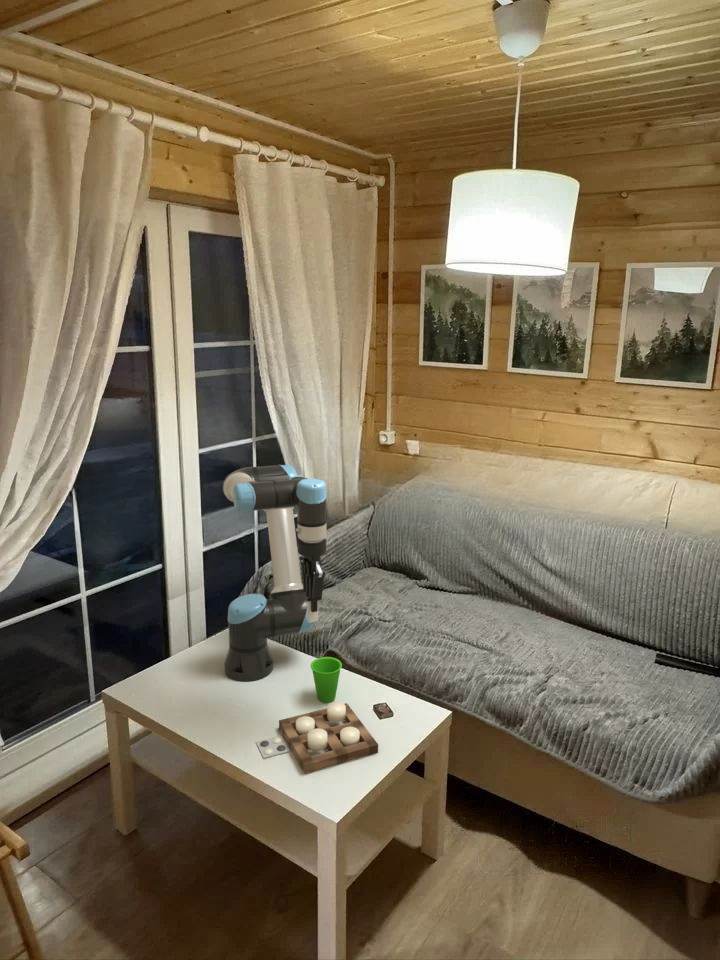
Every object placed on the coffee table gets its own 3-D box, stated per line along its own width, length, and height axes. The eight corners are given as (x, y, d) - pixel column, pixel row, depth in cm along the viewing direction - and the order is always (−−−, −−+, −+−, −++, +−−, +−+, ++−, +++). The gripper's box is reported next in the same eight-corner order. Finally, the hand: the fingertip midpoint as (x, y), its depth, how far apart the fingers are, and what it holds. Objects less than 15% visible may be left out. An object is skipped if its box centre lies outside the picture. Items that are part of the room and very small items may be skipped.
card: (255, 742, 179) (255, 741, 178) (281, 736, 181) (281, 734, 181) (263, 759, 172) (263, 757, 172) (290, 751, 175) (290, 750, 175)
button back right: (293, 728, 183) (293, 719, 182) (310, 724, 185) (310, 714, 184) (299, 739, 179) (299, 729, 178) (317, 734, 181) (317, 724, 180)
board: (279, 728, 185) (279, 720, 184) (346, 710, 193) (346, 703, 192) (304, 774, 167) (304, 765, 166) (378, 752, 175) (378, 744, 175)
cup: (337, 709, 193) (338, 674, 191) (307, 705, 195) (306, 671, 192) (345, 692, 202) (345, 658, 199) (315, 688, 204) (315, 655, 201)
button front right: (304, 741, 175) (304, 731, 174) (323, 736, 177) (323, 726, 176) (311, 753, 170) (311, 742, 169) (330, 747, 172) (330, 737, 171)
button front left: (337, 739, 179) (337, 729, 178) (354, 734, 181) (354, 724, 180) (344, 750, 174) (344, 740, 174) (362, 745, 176) (362, 735, 176)
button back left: (324, 714, 186) (324, 704, 185) (341, 709, 188) (341, 700, 187) (331, 724, 182) (331, 714, 181) (348, 719, 184) (348, 709, 183)
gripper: (290, 532, 182) (291, 613, 188) (307, 548, 171) (307, 633, 177) (316, 528, 185) (316, 608, 192) (334, 544, 174) (334, 628, 180)
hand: (312, 620), depth 184 cm, fingers closed
